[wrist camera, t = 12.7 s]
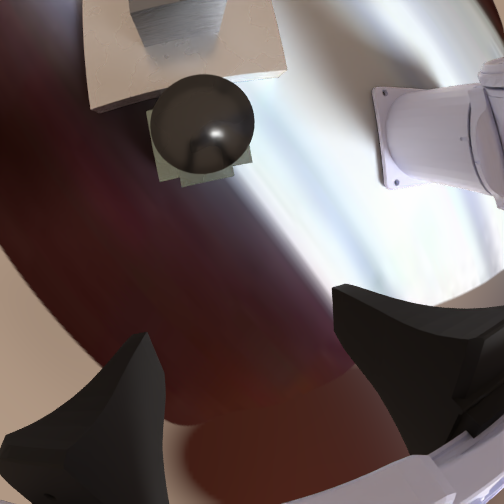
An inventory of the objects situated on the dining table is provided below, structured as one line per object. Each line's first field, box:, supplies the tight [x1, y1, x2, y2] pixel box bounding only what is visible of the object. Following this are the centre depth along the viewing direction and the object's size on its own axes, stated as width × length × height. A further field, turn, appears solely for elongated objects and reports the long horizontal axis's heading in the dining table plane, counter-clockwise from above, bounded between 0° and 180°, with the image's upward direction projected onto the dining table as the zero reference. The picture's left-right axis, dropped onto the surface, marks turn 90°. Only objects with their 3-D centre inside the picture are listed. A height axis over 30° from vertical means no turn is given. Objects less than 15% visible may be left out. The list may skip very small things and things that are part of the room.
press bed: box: [83, 0, 287, 187], centre depth 14 cm, size 12×16×5 cm
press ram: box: [150, 74, 254, 174], centre depth 12 cm, size 3×3×8 cm
